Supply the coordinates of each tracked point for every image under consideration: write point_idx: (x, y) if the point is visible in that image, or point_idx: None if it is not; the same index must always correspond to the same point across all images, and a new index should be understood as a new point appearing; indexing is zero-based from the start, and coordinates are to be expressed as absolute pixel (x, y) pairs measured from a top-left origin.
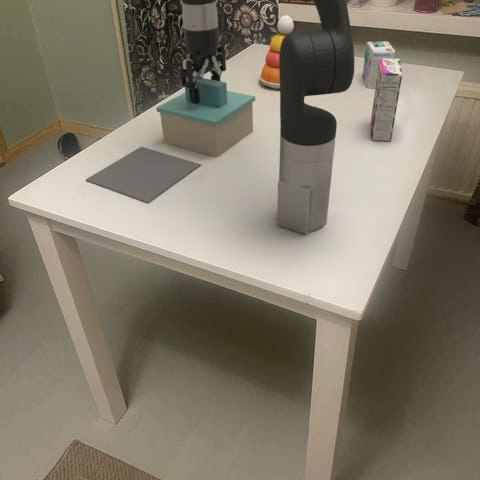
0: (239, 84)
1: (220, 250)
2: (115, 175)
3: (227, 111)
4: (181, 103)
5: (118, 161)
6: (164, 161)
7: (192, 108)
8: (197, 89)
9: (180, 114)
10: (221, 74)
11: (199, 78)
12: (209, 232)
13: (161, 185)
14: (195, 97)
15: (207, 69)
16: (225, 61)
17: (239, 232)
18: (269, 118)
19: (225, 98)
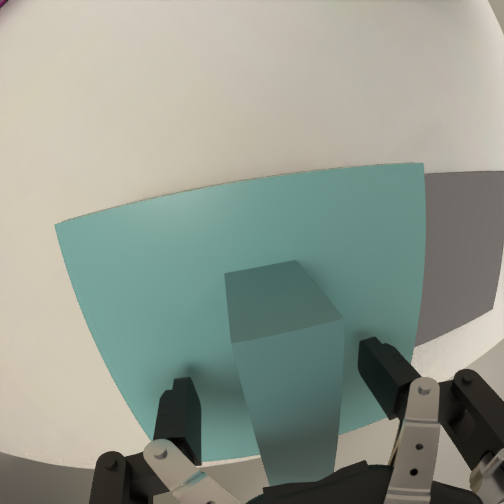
0: (15, 409)
1: (488, 22)
2: (480, 287)
3: (310, 193)
4: (342, 402)
5: (448, 328)
6: (425, 262)
7: None
8: (407, 379)
9: (413, 334)
10: (150, 445)
11: (424, 421)
12: (486, 45)
13: (479, 189)
14: (395, 357)
15: (328, 490)
16: (90, 496)
17: (462, 7)
18: (35, 233)
19: (243, 284)
